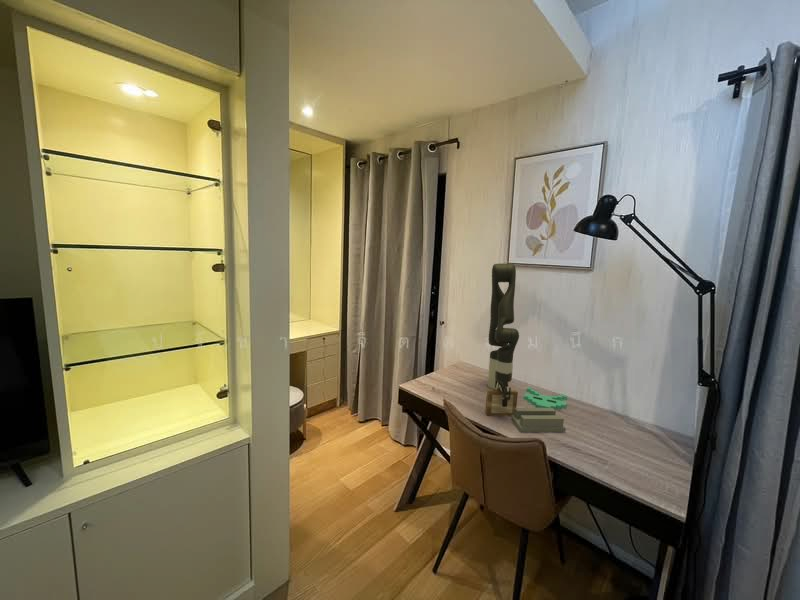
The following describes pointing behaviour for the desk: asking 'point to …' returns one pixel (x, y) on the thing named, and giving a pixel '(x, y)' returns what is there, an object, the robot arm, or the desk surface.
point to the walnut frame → (500, 403)
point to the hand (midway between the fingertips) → (501, 402)
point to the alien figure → (545, 400)
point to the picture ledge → (537, 420)
